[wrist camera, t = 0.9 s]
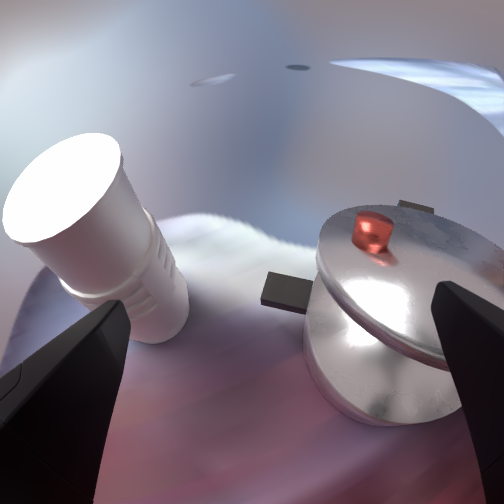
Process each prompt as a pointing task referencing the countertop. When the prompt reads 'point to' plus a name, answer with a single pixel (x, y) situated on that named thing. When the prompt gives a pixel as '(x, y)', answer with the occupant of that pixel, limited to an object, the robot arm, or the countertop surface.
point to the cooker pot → (360, 359)
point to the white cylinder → (98, 235)
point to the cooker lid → (403, 272)
